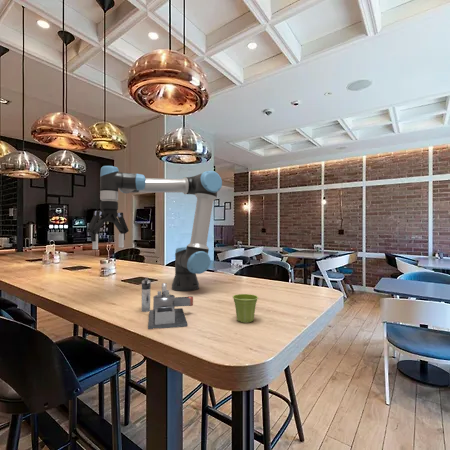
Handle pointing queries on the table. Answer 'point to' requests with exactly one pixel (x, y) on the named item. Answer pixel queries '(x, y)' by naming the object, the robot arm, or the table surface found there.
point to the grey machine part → (170, 299)
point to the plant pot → (245, 307)
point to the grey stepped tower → (146, 295)
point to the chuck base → (166, 318)
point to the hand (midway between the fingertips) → (108, 248)
